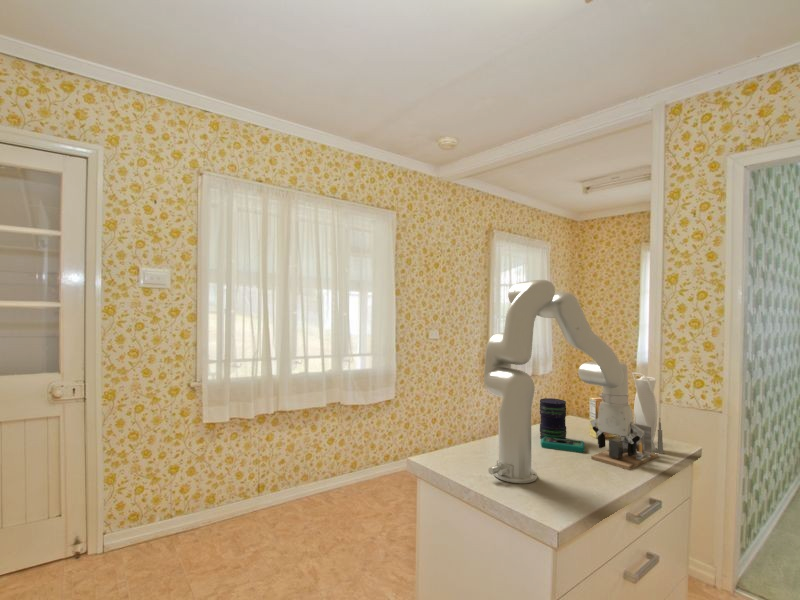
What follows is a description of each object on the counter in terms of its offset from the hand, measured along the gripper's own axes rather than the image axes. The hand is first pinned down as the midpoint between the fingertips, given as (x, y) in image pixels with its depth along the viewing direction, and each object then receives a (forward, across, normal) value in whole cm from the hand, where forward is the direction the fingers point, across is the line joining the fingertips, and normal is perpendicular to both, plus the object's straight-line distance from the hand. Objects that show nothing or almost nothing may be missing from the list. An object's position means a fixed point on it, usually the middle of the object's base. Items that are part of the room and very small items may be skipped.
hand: (616, 451), depth 138 cm
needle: (+1, +5, +6) cm, 8 cm away
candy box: (+4, -18, +25) cm, 31 cm away
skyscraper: (+4, 0, +22) cm, 22 cm away
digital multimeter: (+4, -19, -1) cm, 19 cm away
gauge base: (+3, 0, +6) cm, 7 cm away
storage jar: (+4, -27, +5) cm, 28 cm away
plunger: (+2, +1, +5) cm, 5 cm away
